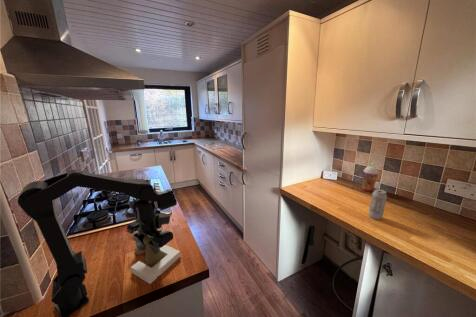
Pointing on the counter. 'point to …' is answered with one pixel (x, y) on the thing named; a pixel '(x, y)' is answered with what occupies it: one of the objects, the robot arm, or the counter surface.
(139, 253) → the brown spool-shaped piece
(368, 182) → the smoothie
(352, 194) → the counter surface
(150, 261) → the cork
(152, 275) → the notched board
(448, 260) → the counter surface
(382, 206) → the energy drink can
